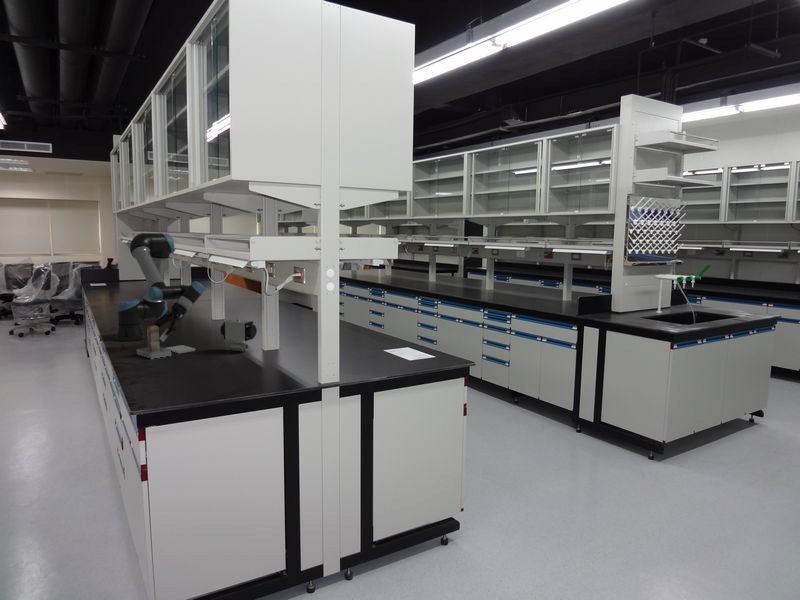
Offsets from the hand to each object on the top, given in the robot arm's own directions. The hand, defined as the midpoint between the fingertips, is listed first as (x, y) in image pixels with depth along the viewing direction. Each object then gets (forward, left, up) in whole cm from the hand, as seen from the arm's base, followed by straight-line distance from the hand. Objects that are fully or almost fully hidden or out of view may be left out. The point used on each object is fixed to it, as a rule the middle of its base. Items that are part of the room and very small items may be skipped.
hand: (154, 338), depth 263 cm
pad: (-3, +15, -9) cm, 17 cm away
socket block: (-1, 0, -9) cm, 9 cm away
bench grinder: (+21, +36, -9) cm, 43 cm away
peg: (-1, 0, -9) cm, 9 cm away
